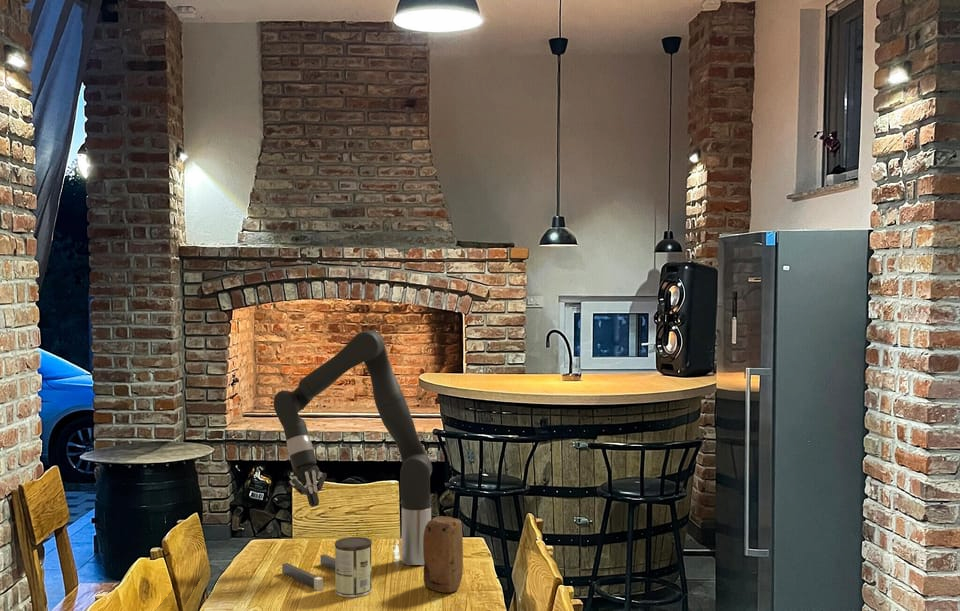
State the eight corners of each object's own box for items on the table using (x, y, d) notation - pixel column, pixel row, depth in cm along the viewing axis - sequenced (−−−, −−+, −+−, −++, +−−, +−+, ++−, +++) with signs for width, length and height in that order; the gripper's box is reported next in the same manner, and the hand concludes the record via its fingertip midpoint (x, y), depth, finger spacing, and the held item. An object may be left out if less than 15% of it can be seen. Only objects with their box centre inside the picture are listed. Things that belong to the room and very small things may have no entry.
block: (465, 588, 248) (465, 518, 248) (450, 596, 242) (450, 524, 242) (434, 581, 254) (434, 513, 254) (418, 589, 248) (419, 518, 248)
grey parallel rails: (325, 564, 271) (325, 554, 271) (361, 579, 256) (361, 569, 256) (282, 573, 261) (282, 563, 261) (317, 590, 246) (317, 579, 246)
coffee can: (345, 584, 252) (345, 535, 252) (377, 587, 249) (377, 538, 249) (328, 595, 242) (328, 544, 242) (361, 599, 239) (361, 548, 239)
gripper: (288, 451, 266) (302, 507, 261) (325, 445, 275) (339, 499, 270) (276, 458, 271) (290, 513, 266) (313, 452, 280) (326, 505, 275)
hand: (315, 506), depth 268 cm, fingers closed
